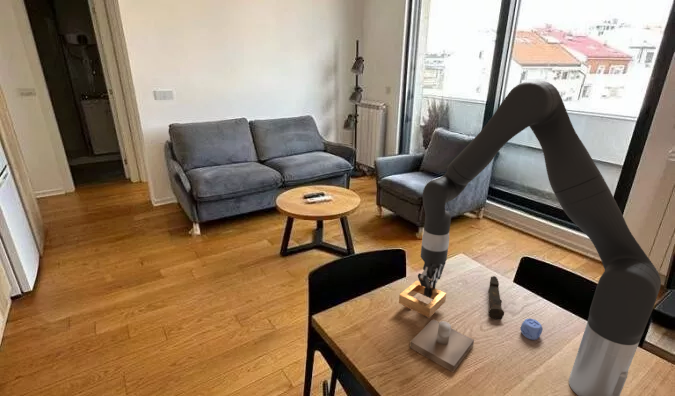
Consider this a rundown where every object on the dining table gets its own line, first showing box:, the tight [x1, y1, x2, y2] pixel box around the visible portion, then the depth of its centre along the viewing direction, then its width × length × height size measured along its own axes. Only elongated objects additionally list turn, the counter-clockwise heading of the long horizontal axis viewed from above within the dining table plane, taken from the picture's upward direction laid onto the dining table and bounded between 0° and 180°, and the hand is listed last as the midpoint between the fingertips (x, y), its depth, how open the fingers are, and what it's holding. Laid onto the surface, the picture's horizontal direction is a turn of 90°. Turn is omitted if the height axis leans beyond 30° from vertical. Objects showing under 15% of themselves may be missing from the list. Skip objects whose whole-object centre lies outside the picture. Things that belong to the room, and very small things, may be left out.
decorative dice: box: [520, 318, 543, 341], centre depth 101 cm, size 4×4×4 cm
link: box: [398, 280, 447, 318], centre depth 109 cm, size 10×10×3 cm
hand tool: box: [487, 275, 505, 321], centre depth 115 cm, size 19×4×5 cm, turn 159°
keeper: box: [409, 318, 475, 373], centre depth 96 cm, size 12×12×7 cm
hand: (429, 294), depth 113 cm, fingers closed on link, 1 cm apart
